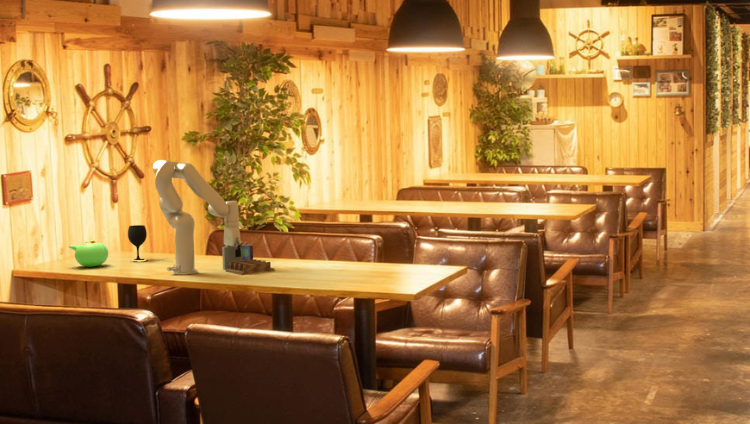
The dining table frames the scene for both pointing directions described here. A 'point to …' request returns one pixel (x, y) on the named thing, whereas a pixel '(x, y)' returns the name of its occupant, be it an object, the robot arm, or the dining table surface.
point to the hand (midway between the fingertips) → (233, 256)
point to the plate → (229, 256)
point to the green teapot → (90, 253)
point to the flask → (247, 251)
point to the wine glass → (137, 237)
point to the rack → (249, 267)
